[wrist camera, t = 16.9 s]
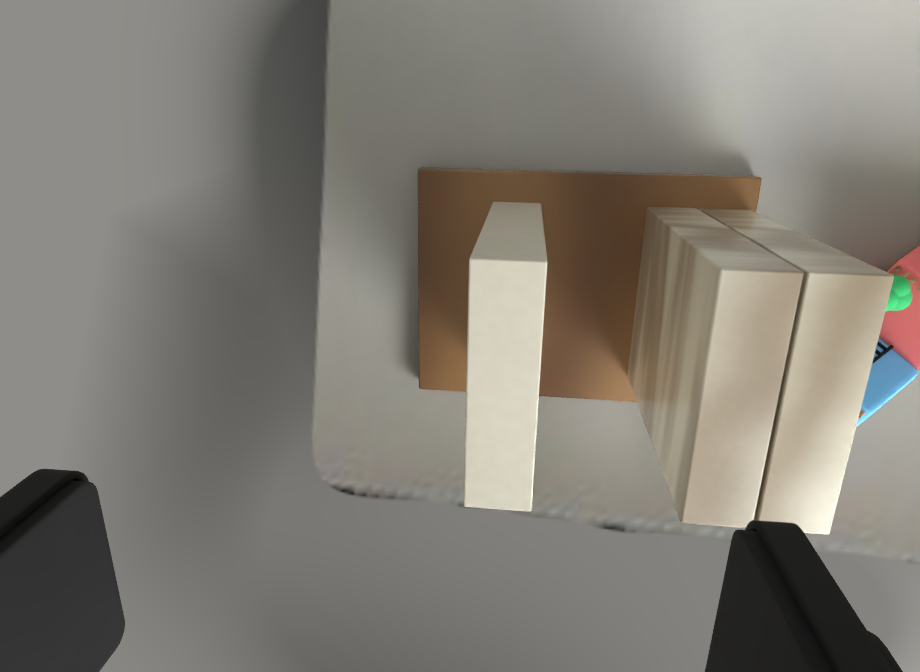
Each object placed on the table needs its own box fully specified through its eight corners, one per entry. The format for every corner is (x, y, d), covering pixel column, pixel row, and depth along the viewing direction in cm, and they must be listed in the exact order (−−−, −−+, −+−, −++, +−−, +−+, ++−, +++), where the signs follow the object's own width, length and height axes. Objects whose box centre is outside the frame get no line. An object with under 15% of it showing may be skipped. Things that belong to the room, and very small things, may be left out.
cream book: (487, 368, 35) (463, 507, 23) (492, 201, 32) (468, 257, 20) (531, 370, 35) (531, 512, 22) (541, 202, 32) (547, 261, 19)
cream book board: (421, 382, 37) (360, 534, 23) (420, 167, 33) (345, 205, 19) (717, 399, 35) (829, 572, 22) (755, 175, 31) (920, 223, 18)
